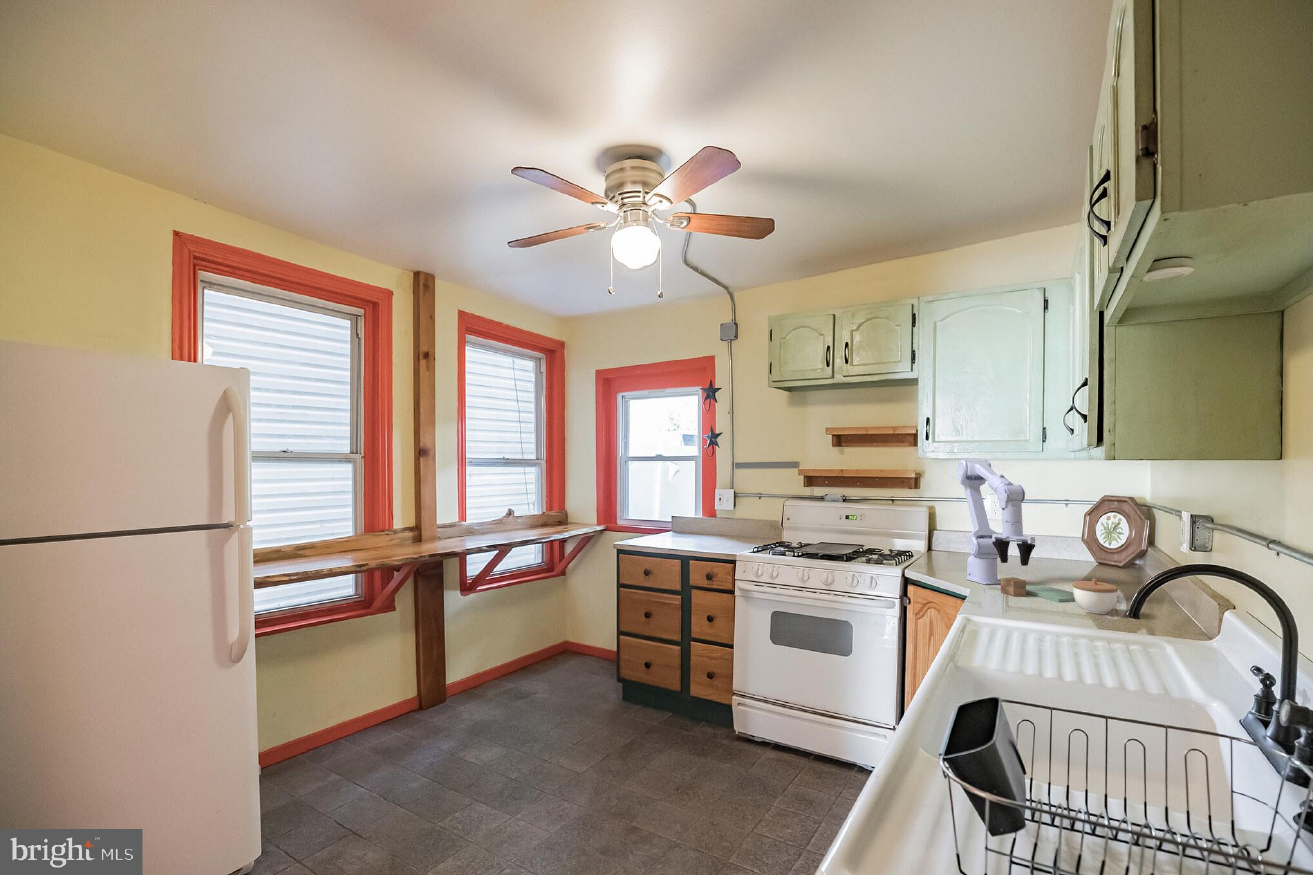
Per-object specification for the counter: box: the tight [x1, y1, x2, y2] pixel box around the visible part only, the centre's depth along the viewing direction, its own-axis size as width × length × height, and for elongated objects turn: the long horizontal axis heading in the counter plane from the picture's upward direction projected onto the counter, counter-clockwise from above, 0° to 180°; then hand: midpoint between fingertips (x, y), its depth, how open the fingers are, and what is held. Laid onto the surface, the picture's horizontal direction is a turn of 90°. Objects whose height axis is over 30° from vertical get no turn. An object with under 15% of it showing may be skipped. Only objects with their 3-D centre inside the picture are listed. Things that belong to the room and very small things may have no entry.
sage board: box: [1026, 584, 1076, 603], centre depth 197 cm, size 16×12×1 cm
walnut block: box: [1000, 576, 1027, 597], centre depth 198 cm, size 5×5×5 cm
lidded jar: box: [1072, 578, 1119, 615], centre depth 177 cm, size 11×11×9 cm
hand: (1014, 564), depth 198 cm, fingers open, 7 cm apart
